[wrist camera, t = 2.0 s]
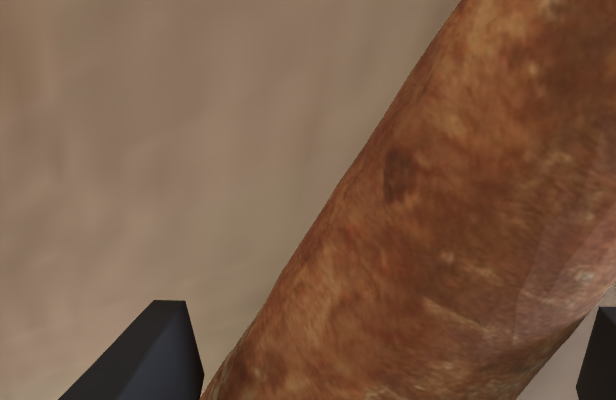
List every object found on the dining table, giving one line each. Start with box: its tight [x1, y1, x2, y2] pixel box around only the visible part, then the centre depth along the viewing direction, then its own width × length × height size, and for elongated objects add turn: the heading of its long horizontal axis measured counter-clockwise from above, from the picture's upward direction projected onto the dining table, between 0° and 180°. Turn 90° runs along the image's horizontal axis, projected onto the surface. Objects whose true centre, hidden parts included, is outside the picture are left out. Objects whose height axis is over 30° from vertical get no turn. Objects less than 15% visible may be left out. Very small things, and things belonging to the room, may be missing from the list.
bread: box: [200, 0, 616, 400], centre depth 11 cm, size 6×19×6 cm, turn 154°
